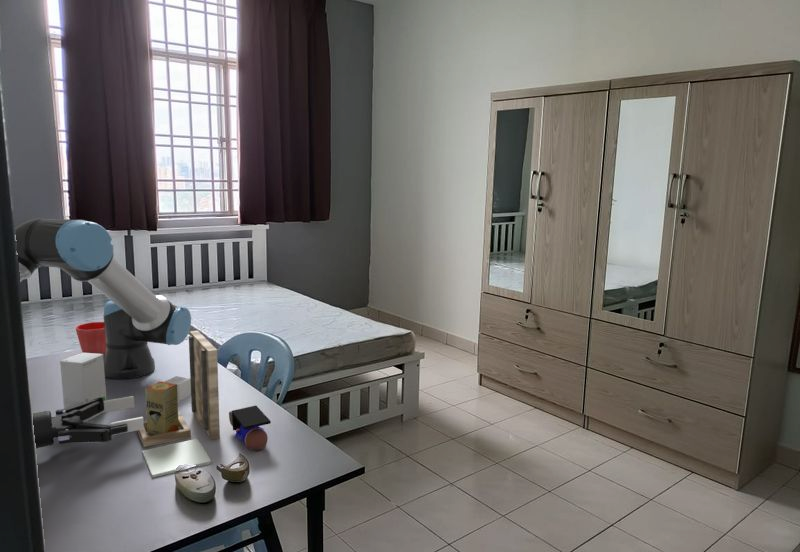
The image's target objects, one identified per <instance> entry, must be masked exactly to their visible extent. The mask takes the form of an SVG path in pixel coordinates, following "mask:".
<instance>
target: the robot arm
mask: <svg viewBox="0 0 800 552" xmlns="http://www.w3.org/2000/svg"><path fill="white" fill-rule="evenodd" d="M14 229H16V240H17V253H18V262H19V272H20V282H22V281H23V280H27V279H30V278H31V277H32V275H33V274H34V272H35V271H36V270H37V269H39V268H41V267H45V268H46V267H47V268H48V267H49V268H57V269H60V270H61V271H63V272H64V273H66V274H67V275H69V276H70V277H71V278H72V279H73V280H75V281H77V282H88V283H89V284H90V285H91V286H92V287H93V288H95V289H96V290H97V291H99V292H100V293H101V294H102V295H103V296H104V297H106V298H108V301H107V302H105V304H104V306H103V322H104V327H105V339H106V352H105V355H103V360H104V374H105V379H111V380H112V379H113V380H114V379H115V380H127V379H128V380H129V379H134V378H139V377H142V376H146V375H149V374H151V373H152V372H154V370H155V369H156V363H155V359H154V358H153V356H152V353H151V350H150V348H149V344H148V343H153V344H162V345H163V344H164V345H167V346H173V345H174V346H177V345H181V344H182V343H183V342H185V340H186V339H187V338H188V336H189V334H190V331H191V330H190V329H191V325H192V314H191V312H190V310H189V309H188V308H187V307H185V306H182V305H175V304H173V303H172V302H171V301H170V300H169V299H168V298H166V297H165V296H163V295H160V294H154V293H153V291H151V290H150V289H149V288H147V286H145V285H144V284H143V283H142V282H141V281H140V280H139V279H138V278H136V276H134V275H133V274H132V273H131V272H130V271H129V270H128V269H127V268H126V267H125V266H124V265H122V263H120V262H119V261H118V260H117V259H116V258H115V254H114V253H115V252H114V244H113V243H112V236H111V235H110V233H109V232H108V231H107V229H106V228H105V227H103V226H102V225H100V224H99V223H97V222H93V221H88V220H85V219H61V218H60V219H58V218H46V217H45V218H44V217H41V218H40V217H38V218H34V219H29V220H26V221H25V222H22V223H21V224H19V225H17V226H16V227H14ZM132 408H135V397H134V395H130V396H124V397H119V398H113V399H106V401H104V402H103V397H99V398H95V399H92V400H89V401H86V402H83V403H80V404H77V405H74V406H71V407H68V408H65V409H64V408H62V409H56V410H55V416H52V411H50V410H45V411H38V412H34V413H32V414H33V425H34V435H35V443H36V448H35V449H41V448H46V447H47V448H48V447H51V446H52V445H54V443H55V442H54V439H55V438H56V439H57V438H58V445H64V444H70V443H72V444H73V443H105V442H106V443H107V442H110V441H112V440H113V439H112V436H117V435H120V434H121V435H122V434H126V433H131V432H136V431H137V430H142V429H144V424H143V421H144V416H139V417H133V418H127V419H123V420H118V421H113V422H110V424H104V423H103V424H102V423H92V422H91V423H90V422H83V421H84V420H86V419H88V418H90V417H92V416H94V415H96V414H98V413H100V412H102V411H104V413H109V412H117V411H123V410H127V409H132Z"/></svg>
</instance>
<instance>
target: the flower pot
mask: <svg viewBox="0 0 800 552" xmlns="http://www.w3.org/2000/svg"><path fill="white" fill-rule="evenodd" d="M75 332H76V335H77V339H78V342H79V346H80V349H81V353H96V354H103V356H104V355H105V352H106V339H105V327H104V321H93V322H87V323H80V324H79V325H77V326H76V327H75Z"/></svg>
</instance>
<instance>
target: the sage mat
mask: <svg viewBox="0 0 800 552" xmlns="http://www.w3.org/2000/svg"><path fill="white" fill-rule="evenodd" d="M142 455H143V458H144V460H145V463H146V466H147V468H148V471H149V473H150V475H151V477H152V478H153V479H154V478H157V477H161V476H165V475H169V474H173V473H176V472H175V470H176V468H177V467H178V466H179V465H184V464H193V465H196V466H198V467H201V466H206V465H209V464H212V460H211V459H210V456H209V455H208V454H207V451H206V450H205V448H204V447H203V446H202V444H201V442H200V441H199V440H198V438H195V439H194V438H193V439H191V440H190V439H189V440H186V441H185V440H184V441H180V442H176V443H172V444H168V445H162V446H158V447H154V448H149V449H144V450H142Z"/></svg>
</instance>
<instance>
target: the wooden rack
mask: <svg viewBox="0 0 800 552" xmlns="http://www.w3.org/2000/svg"><path fill="white" fill-rule="evenodd" d="M188 351H189V352H188V353H189V378H190V382H191V395H190V401H191V403H190V404H191V412H192V414H193V415H194V416H195V418H196V419H197V420H198V422H199V423H200V425H201V427H202V428H203V430H204V431H205V433H206V434H207V435H208V437H209V438H210V440H211V441H212V440H218V439H220V438H221V434H220V433H221V432H220V431H221V430H220V427H221V425H220V397H219V367H218V366H219V365H218V362H219V361H218V349H217V348H216V347H215V346H214V345H213V344H212V343H211V342H210V341H209V340H208V339H207V338H206V337H205V336H204V335H203V334H202V333H201V332H200V331H199V330H189V335H188ZM178 421H179V430H178V431H173V432H168V433H163V434H159V435H154V436H148V432H147V420H143V424H144V429H142V430H137V433H138V436H139V439H140V442H141V443H142V445H143V448H147V447H151V446H155V445H156V446H157V445H161V444H164V443H166V444H167V443H170V442H174V441H179V440H180V441H181V440H184V439H187V438H192V435H191V434H192V433H191V428H190V427H189V425H188V424H187V423H188V422H186V420H185V418H184V417H183V415H182V413H178Z"/></svg>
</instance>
